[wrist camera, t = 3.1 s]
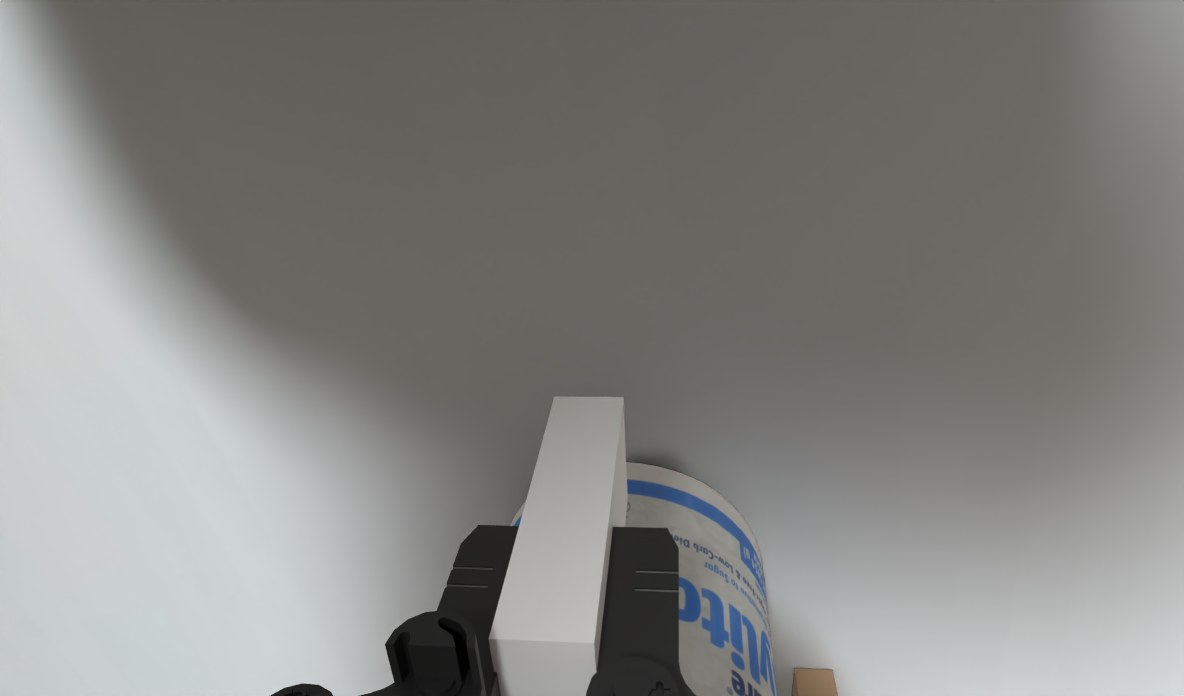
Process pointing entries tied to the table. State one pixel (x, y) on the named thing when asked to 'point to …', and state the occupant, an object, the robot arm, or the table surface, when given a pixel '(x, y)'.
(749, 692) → the supplement tub
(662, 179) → the table surface
